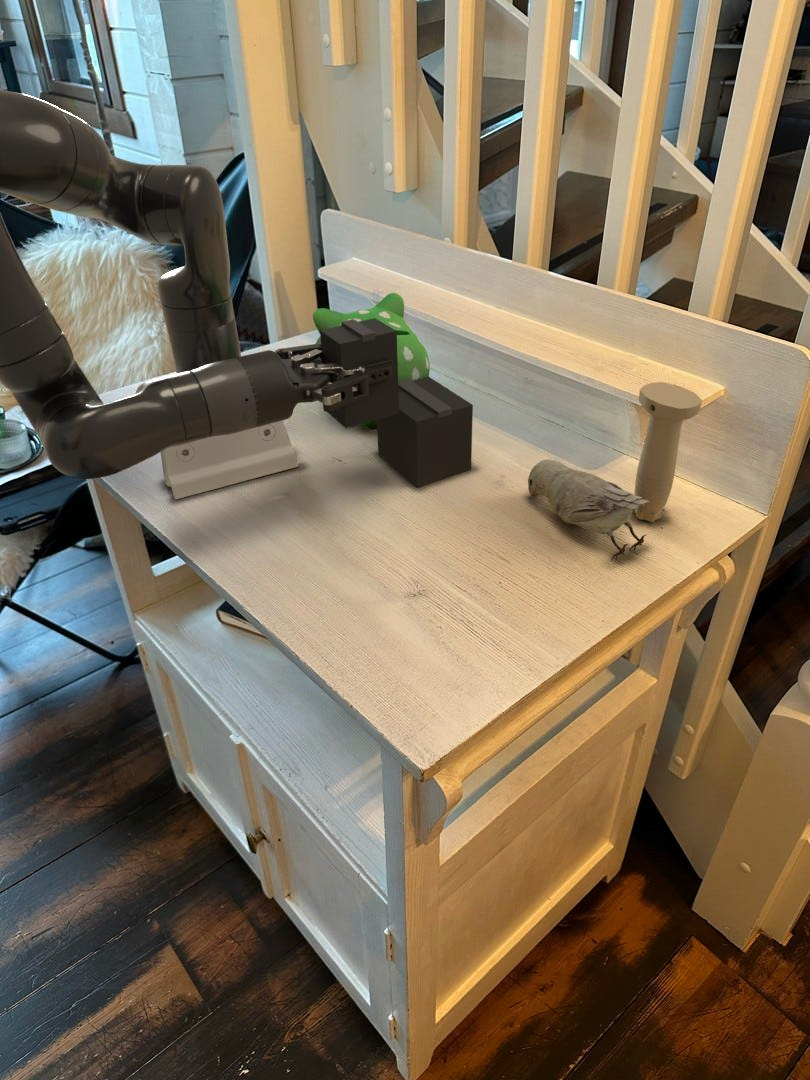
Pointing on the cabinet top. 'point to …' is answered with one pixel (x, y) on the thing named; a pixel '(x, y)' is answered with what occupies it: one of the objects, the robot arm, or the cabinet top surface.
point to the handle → (661, 444)
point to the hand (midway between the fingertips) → (380, 359)
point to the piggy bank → (390, 313)
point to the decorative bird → (585, 499)
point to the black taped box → (427, 432)
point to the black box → (358, 348)
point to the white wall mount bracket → (227, 459)
